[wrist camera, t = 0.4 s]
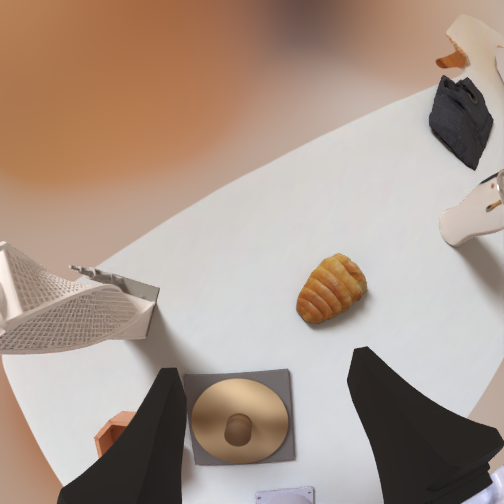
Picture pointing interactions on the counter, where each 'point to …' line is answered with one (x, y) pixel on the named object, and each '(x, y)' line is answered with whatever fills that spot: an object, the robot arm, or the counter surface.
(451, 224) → the beer glass
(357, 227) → the counter surface
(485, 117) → the dark slate chunk
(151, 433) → the robot arm
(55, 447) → the counter surface
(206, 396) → the lid
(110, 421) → the bowl
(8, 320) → the skyscraper
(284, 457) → the mat
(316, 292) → the pastry
